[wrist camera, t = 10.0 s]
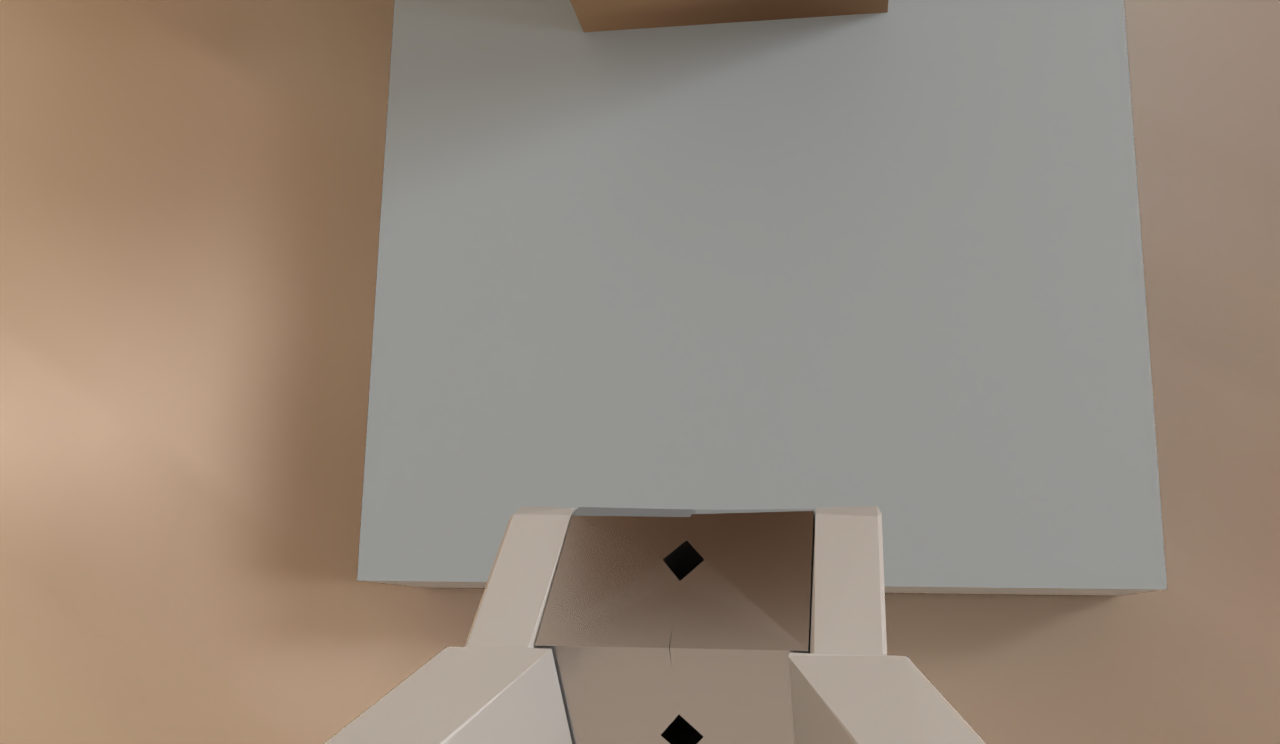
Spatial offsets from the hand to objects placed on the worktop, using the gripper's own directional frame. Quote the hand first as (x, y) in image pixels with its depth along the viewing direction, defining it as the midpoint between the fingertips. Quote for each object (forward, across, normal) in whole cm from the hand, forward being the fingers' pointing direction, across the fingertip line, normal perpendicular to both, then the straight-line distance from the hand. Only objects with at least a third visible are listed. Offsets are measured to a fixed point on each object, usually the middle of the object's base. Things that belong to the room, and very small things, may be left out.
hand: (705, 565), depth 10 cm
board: (+14, +1, +2) cm, 14 cm away
